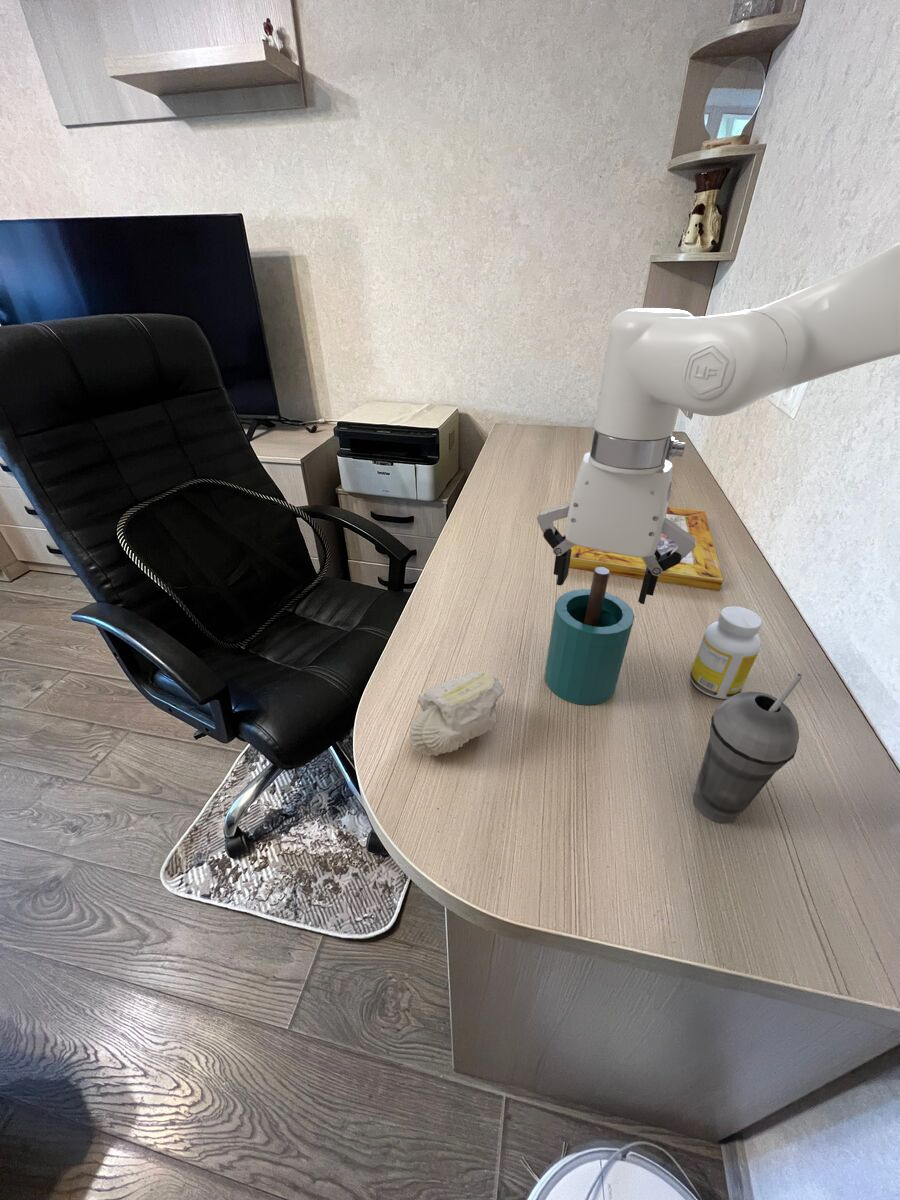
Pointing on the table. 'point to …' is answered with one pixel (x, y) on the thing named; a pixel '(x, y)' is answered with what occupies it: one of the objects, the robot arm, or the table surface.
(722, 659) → the pill bottle
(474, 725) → the fossil replica
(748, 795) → the beverage cup
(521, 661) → the table surface
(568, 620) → the jar
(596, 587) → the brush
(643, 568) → the picture frame
